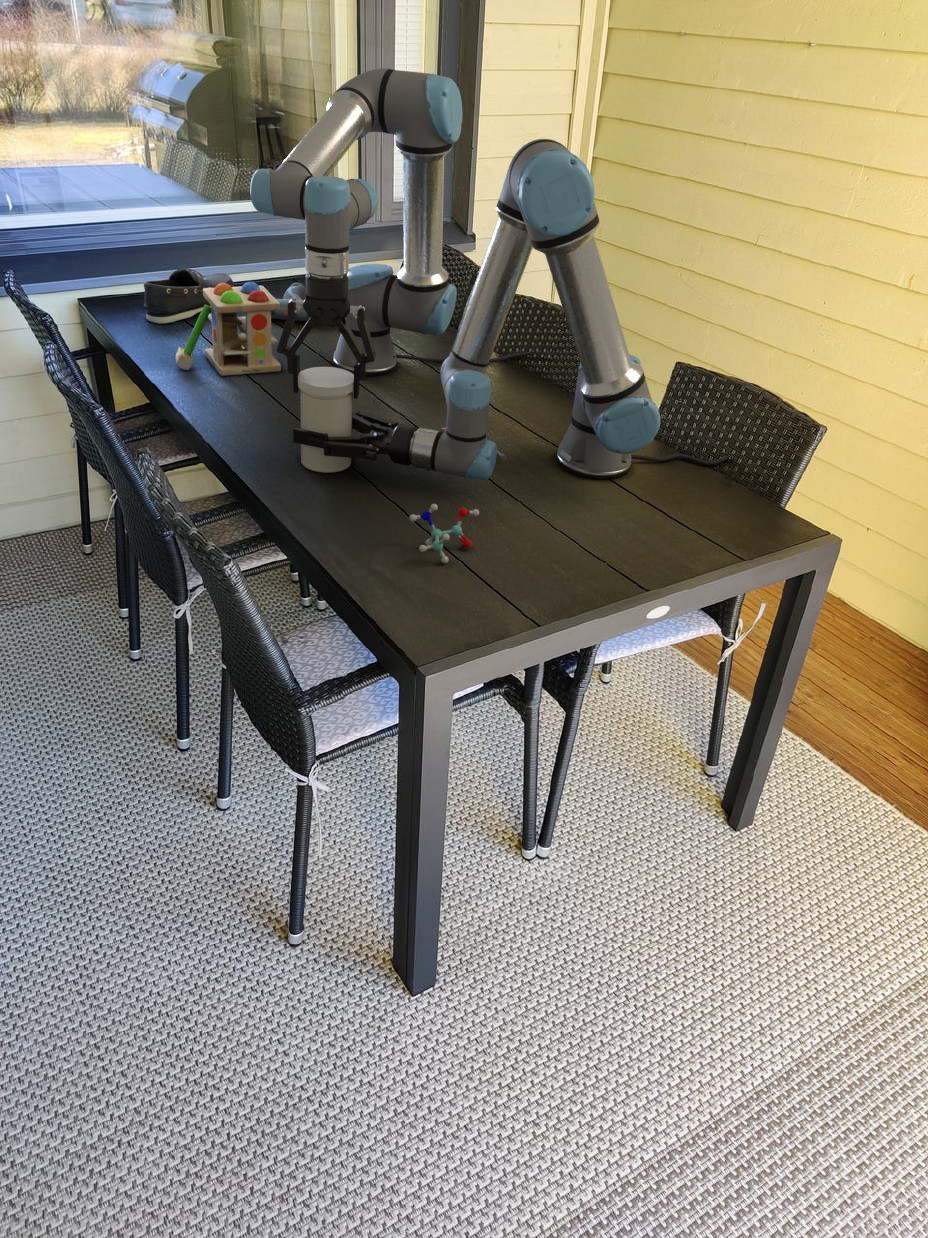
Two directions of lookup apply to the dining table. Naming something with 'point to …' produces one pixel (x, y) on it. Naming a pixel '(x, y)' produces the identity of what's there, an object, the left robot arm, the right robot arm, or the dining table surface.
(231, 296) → the pounding bench toy
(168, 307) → the boat shoe
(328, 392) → the lid
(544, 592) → the dining table surface
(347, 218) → the left robot arm
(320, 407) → the jar
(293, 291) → the power drill
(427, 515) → the molecular model
